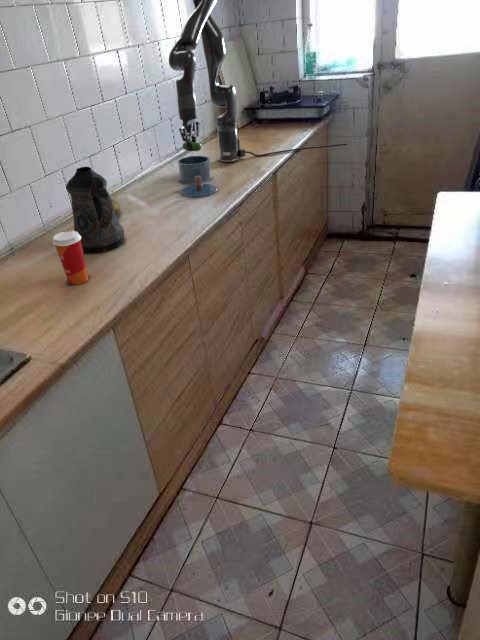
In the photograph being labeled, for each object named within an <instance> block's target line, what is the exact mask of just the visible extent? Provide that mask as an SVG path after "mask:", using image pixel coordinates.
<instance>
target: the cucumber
mask: <svg viewBox="0 0 480 640" xmlns="http://www.w3.org/2000/svg"><path fill="white" fill-rule="evenodd" d="M182 148H183V150H184V151H187V152H189V151H188V150H187V143H186V142H185V141H183V143H182ZM192 149H193V150H192V151H191V152H198V151H201V149H202V144H201V143H200V142H199V141H196V142H192Z"/></svg>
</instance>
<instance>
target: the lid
mask: <svg viewBox="0 0 480 640" xmlns="http://www.w3.org/2000/svg"><path fill="white" fill-rule="evenodd" d="M195 182H196V183H195V184H192V185H188V186H185V187H184V188H183V189H181V195H183V196H184V197H188V198H204V197H208V196H211V195H214V194H215V193H216V192H217V191H218V187H217V186H216V185H214V184H209V183H203V182H201V176H195Z"/></svg>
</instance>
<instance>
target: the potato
mask: <svg viewBox="0 0 480 640" xmlns="http://www.w3.org/2000/svg"><path fill="white" fill-rule="evenodd" d="M112 203H113V209H114V212H115V214H116V216H118V215H120V213H121V205H120V204H119V202H118V201H117V200H115V199H112Z"/></svg>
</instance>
